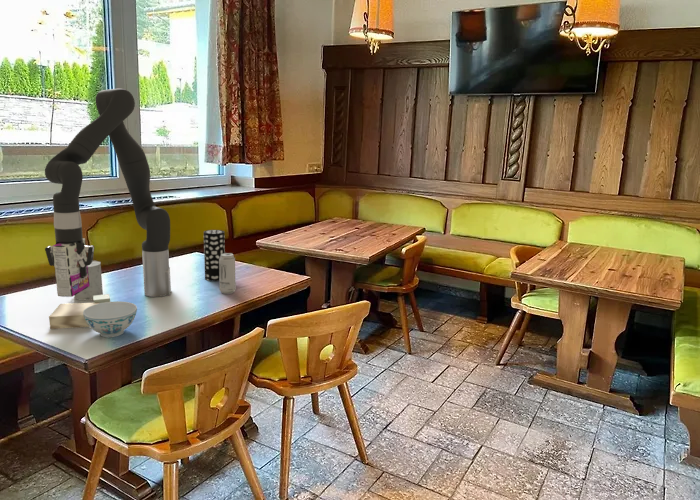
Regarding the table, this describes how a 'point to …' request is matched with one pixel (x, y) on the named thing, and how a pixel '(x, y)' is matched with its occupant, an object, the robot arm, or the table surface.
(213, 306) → the table surface
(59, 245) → the candy bar box
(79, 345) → the table surface
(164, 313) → the table surface
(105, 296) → the brick
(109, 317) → the chinaware
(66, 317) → the pedestal
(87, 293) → the speckled grey cylinder
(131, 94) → the robot arm
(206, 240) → the white-spotted black cylinder
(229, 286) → the energy drink can
